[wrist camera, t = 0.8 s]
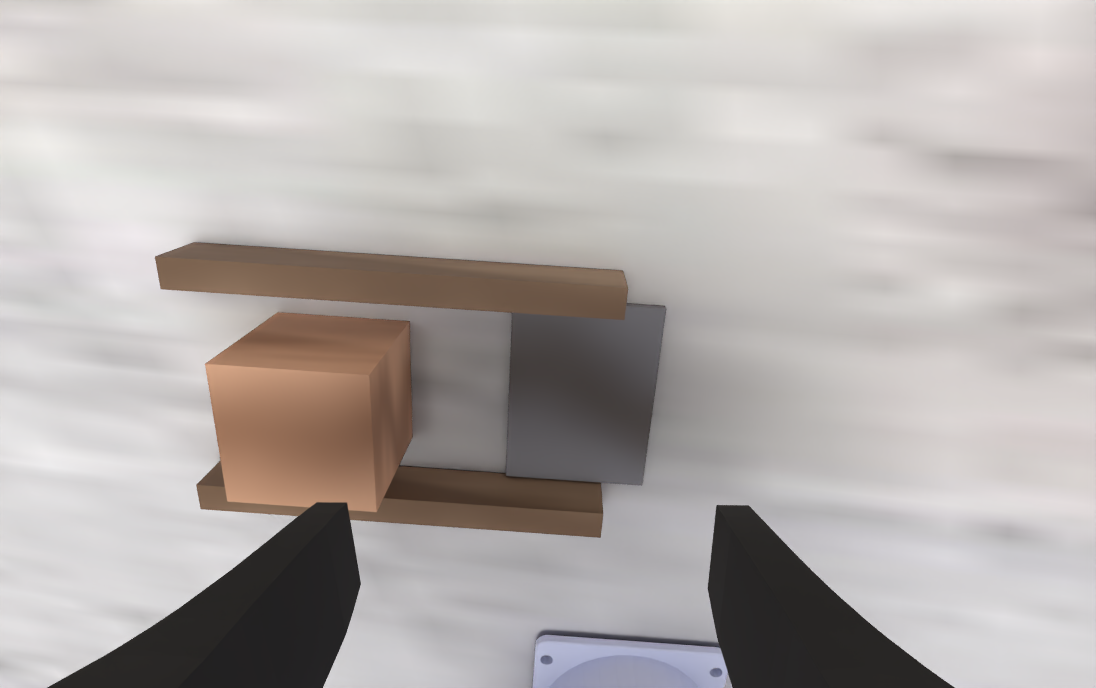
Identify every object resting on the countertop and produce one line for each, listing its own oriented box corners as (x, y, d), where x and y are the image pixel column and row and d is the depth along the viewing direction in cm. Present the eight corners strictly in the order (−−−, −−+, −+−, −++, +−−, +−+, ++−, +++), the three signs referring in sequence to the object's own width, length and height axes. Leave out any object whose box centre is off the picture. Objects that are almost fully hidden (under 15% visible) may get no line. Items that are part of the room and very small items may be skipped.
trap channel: (637, 505, 23) (643, 540, 21) (230, 476, 23) (200, 508, 21) (669, 273, 20) (679, 291, 18) (193, 242, 20) (155, 256, 18)
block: (412, 436, 22) (376, 511, 18) (291, 427, 22) (227, 501, 18) (410, 320, 21) (369, 375, 17) (278, 311, 21) (204, 364, 17)
